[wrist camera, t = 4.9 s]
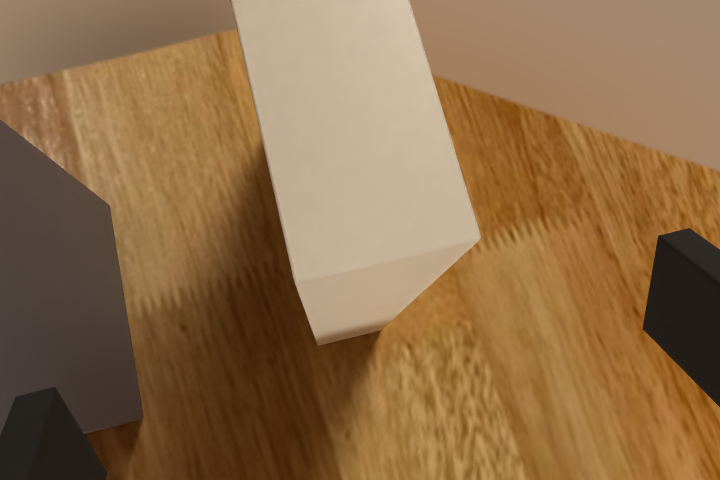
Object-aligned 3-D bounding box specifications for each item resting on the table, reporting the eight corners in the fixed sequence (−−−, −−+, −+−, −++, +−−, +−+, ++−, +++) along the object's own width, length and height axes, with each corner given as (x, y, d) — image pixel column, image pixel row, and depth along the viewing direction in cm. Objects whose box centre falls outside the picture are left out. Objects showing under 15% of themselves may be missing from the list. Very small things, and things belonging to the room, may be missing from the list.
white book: (326, 114, 29) (322, -290, 11) (381, 330, 27) (482, 238, 9) (267, 126, 29) (169, -270, 11) (317, 346, 26) (295, 283, 9)
